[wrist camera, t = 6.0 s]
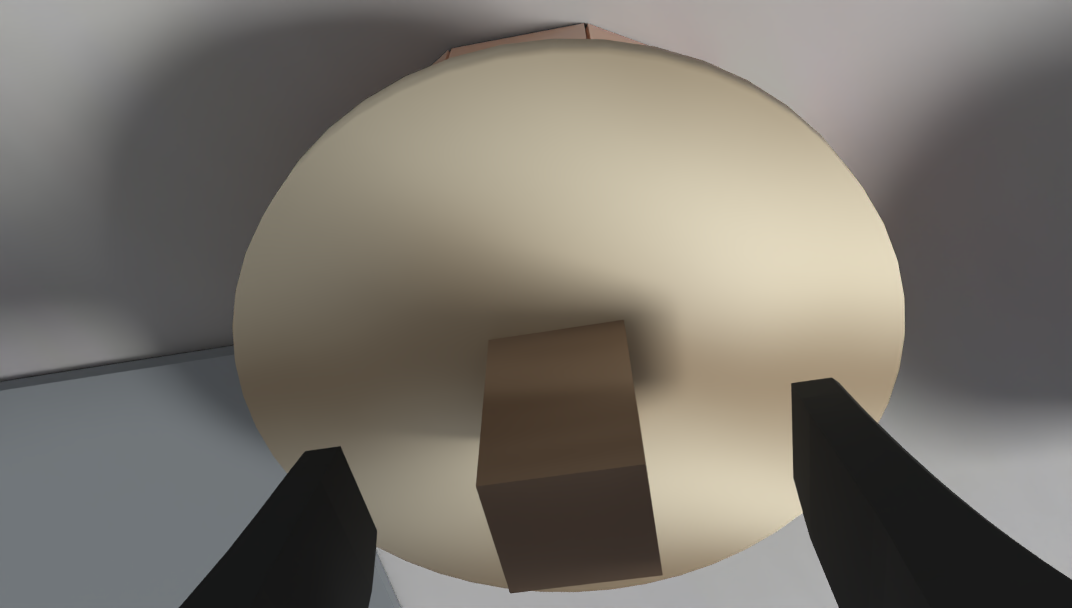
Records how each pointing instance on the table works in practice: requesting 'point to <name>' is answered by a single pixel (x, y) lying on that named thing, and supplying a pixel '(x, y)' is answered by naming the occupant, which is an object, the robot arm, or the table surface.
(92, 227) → the table surface
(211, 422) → the mat
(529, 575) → the lid
